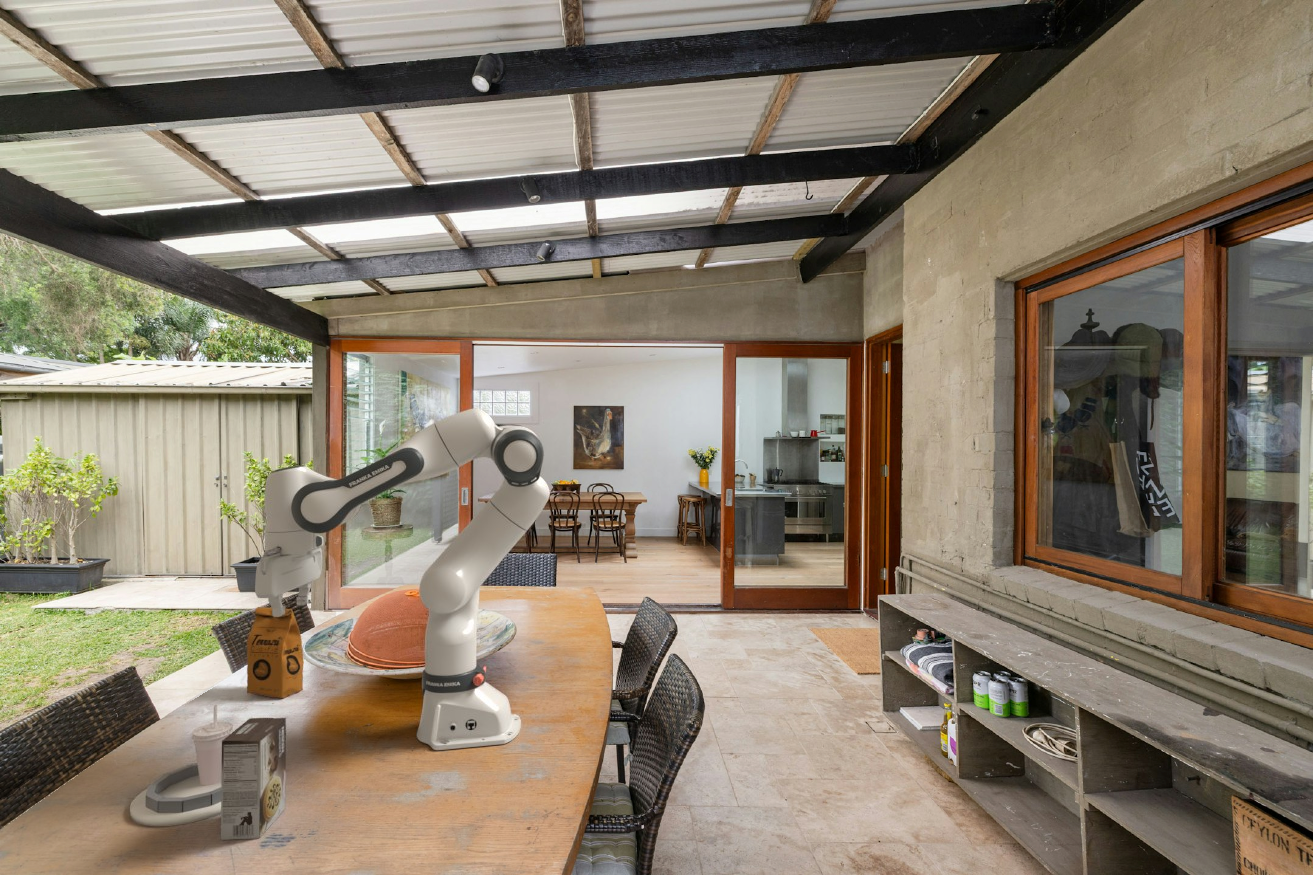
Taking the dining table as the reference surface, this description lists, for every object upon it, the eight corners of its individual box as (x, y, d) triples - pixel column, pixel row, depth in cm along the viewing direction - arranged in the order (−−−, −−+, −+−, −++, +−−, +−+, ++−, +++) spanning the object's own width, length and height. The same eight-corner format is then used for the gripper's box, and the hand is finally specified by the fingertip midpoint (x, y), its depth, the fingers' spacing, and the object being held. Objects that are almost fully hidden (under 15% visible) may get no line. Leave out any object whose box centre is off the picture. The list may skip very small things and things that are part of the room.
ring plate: (285, 767, 130) (285, 752, 130) (221, 825, 110) (221, 807, 110) (182, 769, 130) (182, 753, 130) (99, 827, 110) (99, 809, 110)
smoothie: (210, 790, 120) (211, 713, 120) (182, 786, 121) (183, 710, 121) (240, 774, 126) (241, 700, 126) (213, 770, 127) (214, 697, 127)
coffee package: (278, 702, 164) (279, 613, 164) (240, 697, 168) (241, 610, 168) (310, 688, 174) (311, 605, 174) (273, 683, 177) (274, 601, 178)
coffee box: (248, 810, 115) (249, 717, 115) (287, 808, 116) (288, 715, 116) (218, 841, 106) (219, 740, 106) (260, 839, 107) (261, 738, 107)
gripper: (278, 551, 127) (279, 622, 127) (327, 536, 148) (328, 598, 147) (244, 552, 127) (246, 624, 127) (298, 537, 147) (299, 599, 147)
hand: (291, 610), depth 137 cm, fingers open, 8 cm apart
